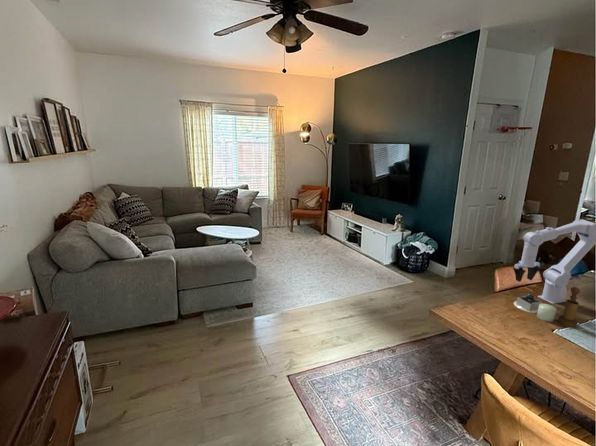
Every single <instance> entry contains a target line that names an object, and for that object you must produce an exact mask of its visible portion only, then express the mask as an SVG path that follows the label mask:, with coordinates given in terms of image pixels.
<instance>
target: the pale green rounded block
mask: <svg viewBox="0 0 596 446" xmlns="http://www.w3.org/2000/svg"><path fill="white" fill-rule="evenodd" d="M556 313H557V307H556V306H554V305H553V304H552V305H551V304H547V303H542V304H539V308H538V312H537V313H536V317H537V318H538V319H539V320H542V321H545V322H548V323H549V322H550V323H551V322H554V321H555V317H556V315H557V314H556Z"/></svg>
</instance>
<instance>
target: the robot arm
mask: <svg viewBox="0 0 596 446" xmlns="http://www.w3.org/2000/svg"><path fill="white" fill-rule="evenodd" d="M575 232H576V233H577V235H578V237H579V241H578V242H577V243H576V244H575V245H574V246H573V248H571V250H570V251H569V252H568V253H567V254H565V256H564V257H563V258H562V260H561V261H560V262H559V263H557V264H553V265H551V267H549V268H547V269H546V270H544V271H543V274H542V275H543V278H544V281H545V282H544V287H543V290H542V294H541V295H538V296H537V298H539V299H541V300H544V301H546V302H549V303H550V304H552V305H555V304H560V303H564V302H565V303H566V302H567V300H566V299H565V298H566V294H567V285H568V284H569V281H570V279H571V278H572V274H571V271H573V268H575V266H576V265H577V264H578V263H579V262H580V261H581V260H582V259H583V258H584V257H585V256H586V254H587V253H588V252H589V251H590V250H591V249H592V248H593V247H594V246H595V245H596V222H592V221H589V220H586V219H583V218H580V219H577V220H573V221H572V222H571V223H567V224H565V225H562V226H559V227H555V228H553V227H549V226H547V227H545V229H540V230H535V231H534V232H533V231H528V232H526V233H525V234H524V235H523V236H522V240H523V241H524V245H523V250H522V256H521V260H519V261H518V263H515V264H514V266H512V269H513V272H514V276H515V281H517V282H519V283H520V282H522V279H523V277H524V275H525V273H526V272H527V275H526V278H527V279H528V280H529V281H532V280H533V279H534V277H535V276H536V274H537V273H538V272H539V271H540V270H541V268H540V265H541V262H538V261H536V259H537V255H538V251H539V247H540V245H542V244H543V243H544V242H547V241H550V240H555V239H557V237H558V236H560V235H561V236H562V235H565V234H570V233H575ZM524 268H527V270H525V269H524Z"/></svg>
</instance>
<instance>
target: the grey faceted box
mask: <svg viewBox="0 0 596 446" xmlns="http://www.w3.org/2000/svg"><path fill="white" fill-rule="evenodd" d="M526 296H527V295H525V296H524V295H523V296H522V295H520V294H517V296H516V297H517V298H516V301H517V302H516V304H517V305H519V306H521V307H523V308H524V309H526V310H528V311H533V310H538V308H539V304H543V301H540V300H539V299H536V298H534V299H533V300H531V301H530V303H529V302H528V298H526Z"/></svg>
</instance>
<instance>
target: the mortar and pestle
mask: <svg viewBox="0 0 596 446" xmlns="http://www.w3.org/2000/svg"><path fill="white" fill-rule="evenodd" d="M570 292H571V295H570V297H569V298H570V299H567V300H566V302H565V308H564V310H563V314H562V315H559V316H558V319H557V322H558V324H560V325H562V326H564V327H568V328H573V329H574V328H577V324H578V321H577V320H576V318H575V317H576V314H577V310H578V307H579V302H578V301H577V300H578V297H577V295H578V294H580V293H581V290H580V288H579V287H577V286H572V287H571V288H570Z"/></svg>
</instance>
